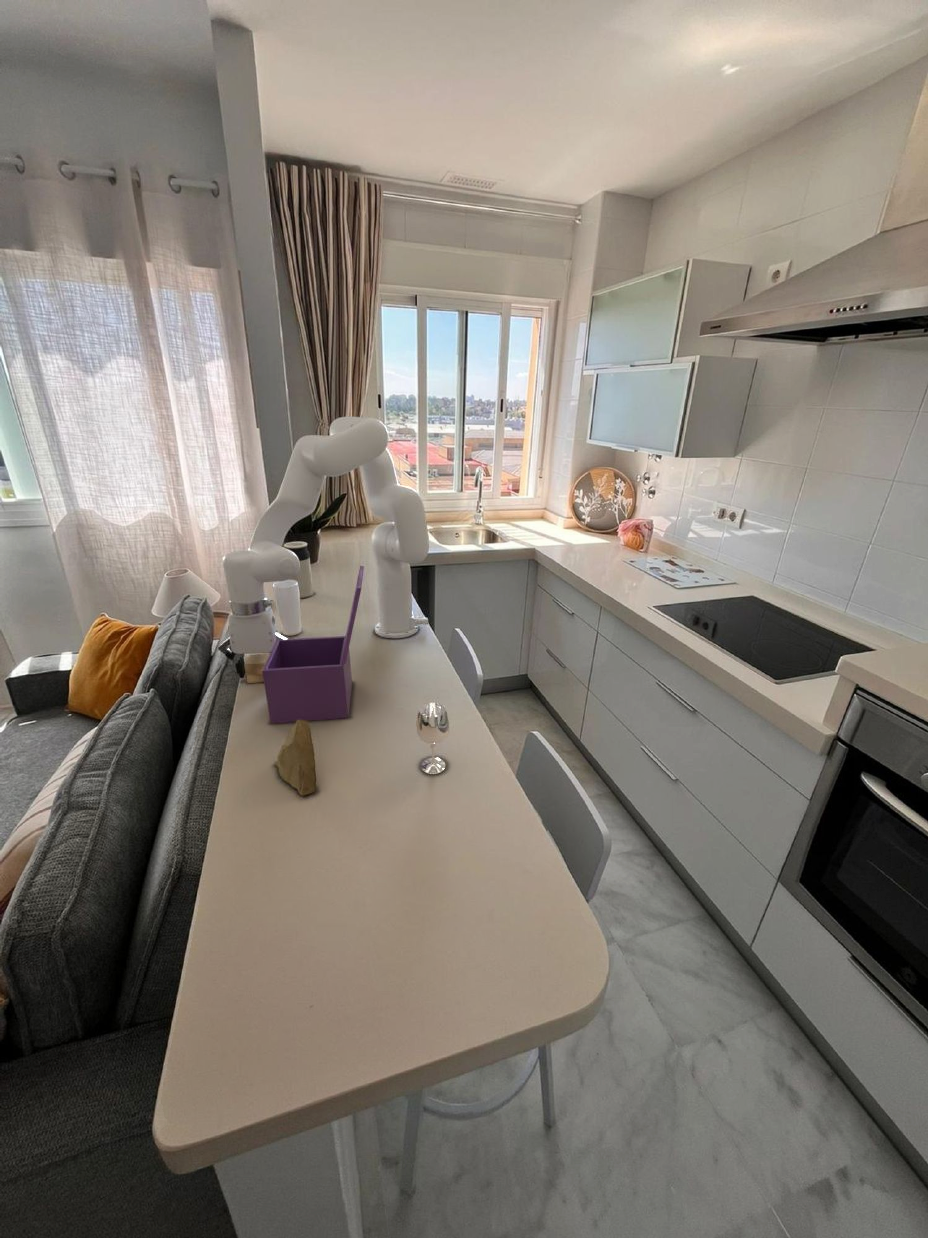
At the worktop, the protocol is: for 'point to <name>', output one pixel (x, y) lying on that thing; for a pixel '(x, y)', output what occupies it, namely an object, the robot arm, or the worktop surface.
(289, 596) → the drinking glass
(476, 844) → the worktop surface
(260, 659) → the block
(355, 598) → the lid
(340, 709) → the purple box
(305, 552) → the travel mug
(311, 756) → the rock
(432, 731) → the wineglass
